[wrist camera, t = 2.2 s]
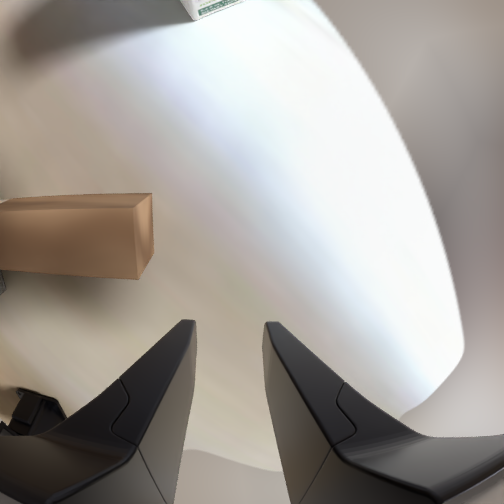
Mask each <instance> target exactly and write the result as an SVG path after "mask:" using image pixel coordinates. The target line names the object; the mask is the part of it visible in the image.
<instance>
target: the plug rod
mask: <svg viewBox="0 0 504 504" xmlns="http://www.w3.org/2000/svg"><path fill="white" fill-rule="evenodd" d="M153 254H154V240H153V217H152V193H126V194H84V195H60V196H42V197H26V198H13V199H1V200H0V269H1V270H11V271H22V272H34V273H46V274H58V275H72V276H86V277H101V278H117V279H135V280H138V279H139V278H140V276H141V274H142V273H143V271H144V269H145V267H146V266H147V264H148V262H149V261H150V259H151V257H152V256H153Z"/></svg>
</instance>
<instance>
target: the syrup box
mask: <svg viewBox="0 0 504 504" xmlns="http://www.w3.org/2000/svg"><path fill="white" fill-rule="evenodd" d="M180 1H181V3H182V4H183V6H184V7H185V9H186V10H187V12H188V13H189V15H190V16H191V18H192V19H193V20H195V21H197V20H199V19H201V18H203V17H205V16H207V15H209V14H212V13H214V12H216V11H219V10H222V9H225V8H227V7H230V6H232V5H235V4H237V3H240V2H243V1H246V0H180Z"/></svg>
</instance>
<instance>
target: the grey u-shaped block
mask: <svg viewBox="0 0 504 504" xmlns="http://www.w3.org/2000/svg"><path fill="white" fill-rule="evenodd" d="M5 290H6V287H5V283H4V280H3V276H2V272H1V269H0V295H1V294H2V293H3V292H4V291H5Z"/></svg>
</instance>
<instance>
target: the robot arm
mask: <svg viewBox="0 0 504 504" xmlns="http://www.w3.org/2000/svg"><path fill="white" fill-rule="evenodd" d="M262 352H263V366H264V380H265V390H266V396H267V401H268V405H269V410H270V414H271V419H272V424H273V428H274V433H275V437H276V441H277V446H278V450H279V455H280V459H281V464H282V468H283V472H284V477H285V481H286V485H287V490H288V494H289V498H290V502H291V504H504V434H502V435H494V436H482V437H481V436H480V437H456V438H455V437H445V438H444V437H429V436H425V435H422V434H420V433H418V432H416V431H414V430H412V429H410V428H409V427H407V426H406V425H404V424H403V423H401V422H400V421H398V420H397V419H395V418H394V417H392V416H390V415H389V414H387V413H386V412H384V411H383V410H381V409H380V408H379V407H377V406H376V405H374V404H373V403H372V402H370V401H369V400H367V399H366V398H365V397H364V396H362V395H361V394H360V393H359V392H357V391H356V390H355V389H354V388H353V387H351V386H350V385H349V384H348V383H347V382H344V380H343V379H342V378H341V377H340V376H339V375H337V374H336V373H335V372H334V371H333V370H332V369H331V368H329V367H328V366H327V365H326V364H325V363H324V362H323V361H322V360H320V359H319V358H318V357H317V356H316V355H315V354H314V353H313V352H311V351H310V350H309V349H308V348H307V347H306V346H305V345H304V344H303V343H301V342H300V341H299V340H298V339H297V338H296V337H295V336H294V335H293V334H292V333H290V332H289V331H288V330H287V329H286V328H285V327H284V326H283V325H282V324H281V323H279V322H265V325H264V333H263V343H262ZM196 354H197V333H196V321H195V320H187V319H183V320H181V321H180V322H179V323H178V324H176V325H175V326H174V327H173V328H172V329H171V330H170V331H169V332H168V333H167V334H166V335H165V336H163V337H162V338H161V339H160V340H159V341H158V342H157V343H156V344H155V345H154V346H153V347H152V348H150V349H149V350H148V351H147V352H146V353H145V354H144V355H143V356H142V357H141V358H140V359H138V360H137V361H136V362H135V363H134V364H133V365H132V366H131V367H130V368H129V369H128V370H127V371H125V372H124V373H123V374H122V375H121V376H120V377H119V379H117V380H115V381H114V382H113V383H112V384H111V385H110V386H109V387H108V388H107V389H105V390H104V391H103V392H102V393H101V394H100V395H98V396H97V397H96V398H94V399H93V400H92V401H90V402H89V403H88V404H87V405H85V406H84V407H82V408H81V409H80V410H78V411H77V412H75V413H74V414H72V415H71V416H70V417H68V418H67V417H66V415H65V413H64V411H63V410H62V408H61V406H60V404H59V402H58V401H57V400H55V399H52V398H48V397H44V396H41V395H38V394H34V393H31V392H28V391H25V390H22V389H17V391H16V393H17V394H18V396H19V398H20V399H21V400H20V401H19V403H18V405H17V407H16V408H15V410H14V412H13V414H12V419H11V421H10V423H9V425H8V426H7V425H6V424H5V423H4V422H3V421H1V423H0V504H173V503H174V497H175V491H176V485H177V480H178V474H179V468H180V462H181V456H182V451H183V446H184V440H185V435H186V430H187V424H188V419H189V414H190V409H191V404H192V399H193V393H194V385H195V369H196Z"/></svg>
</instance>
